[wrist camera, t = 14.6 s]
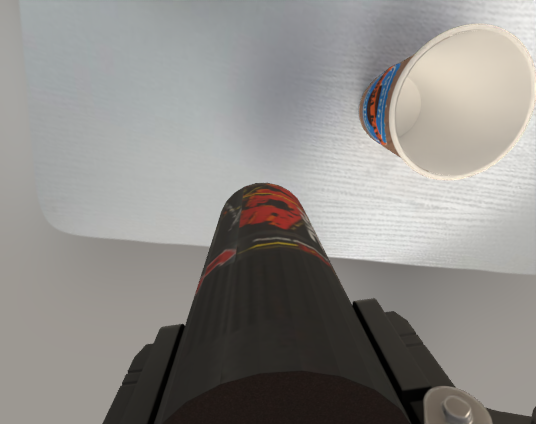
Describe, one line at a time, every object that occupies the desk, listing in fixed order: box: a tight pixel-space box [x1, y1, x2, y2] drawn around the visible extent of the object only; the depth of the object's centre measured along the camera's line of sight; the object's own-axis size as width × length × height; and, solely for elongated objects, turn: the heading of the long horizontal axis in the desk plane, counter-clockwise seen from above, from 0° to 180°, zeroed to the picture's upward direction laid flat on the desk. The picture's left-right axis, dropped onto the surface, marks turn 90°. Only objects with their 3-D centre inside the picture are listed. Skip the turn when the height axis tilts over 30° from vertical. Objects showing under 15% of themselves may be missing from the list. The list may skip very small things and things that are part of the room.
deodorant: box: [154, 183, 411, 424], centre depth 14 cm, size 6×6×15 cm
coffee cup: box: [359, 24, 536, 180], centre depth 27 cm, size 10×10×12 cm
